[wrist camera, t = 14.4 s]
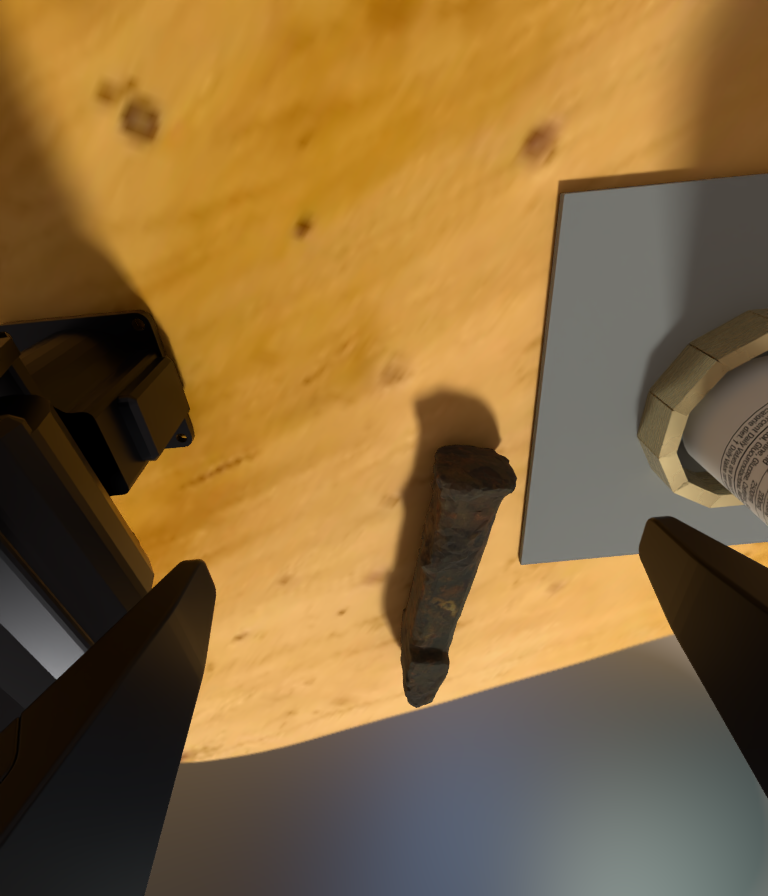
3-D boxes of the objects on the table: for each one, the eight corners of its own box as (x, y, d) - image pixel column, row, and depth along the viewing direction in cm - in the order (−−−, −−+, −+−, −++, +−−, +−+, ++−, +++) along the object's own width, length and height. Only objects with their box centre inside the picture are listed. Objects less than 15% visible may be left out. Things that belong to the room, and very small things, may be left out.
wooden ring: (622, 490, 25) (641, 514, 23) (667, 317, 20) (695, 333, 18) (796, 473, 25) (828, 496, 23) (886, 296, 20) (935, 310, 18)
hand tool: (431, 433, 23) (444, 489, 19) (505, 443, 24) (533, 500, 20) (371, 652, 33) (372, 718, 29) (424, 656, 34) (432, 721, 30)
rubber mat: (519, 560, 28) (521, 564, 28) (560, 193, 17) (564, 194, 17) (840, 529, 28) (846, 534, 28) (1083, 142, 17) (1097, 142, 17)
